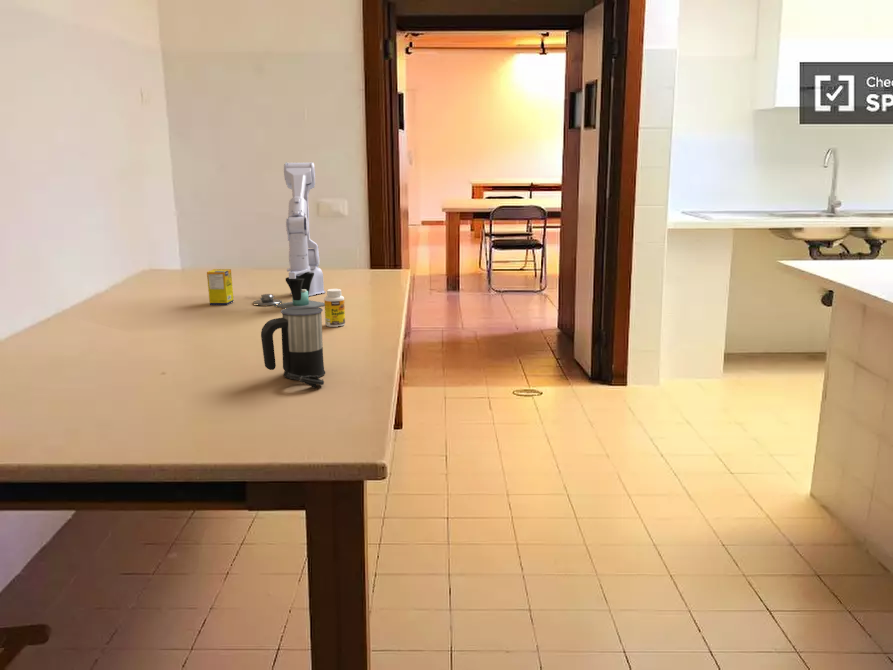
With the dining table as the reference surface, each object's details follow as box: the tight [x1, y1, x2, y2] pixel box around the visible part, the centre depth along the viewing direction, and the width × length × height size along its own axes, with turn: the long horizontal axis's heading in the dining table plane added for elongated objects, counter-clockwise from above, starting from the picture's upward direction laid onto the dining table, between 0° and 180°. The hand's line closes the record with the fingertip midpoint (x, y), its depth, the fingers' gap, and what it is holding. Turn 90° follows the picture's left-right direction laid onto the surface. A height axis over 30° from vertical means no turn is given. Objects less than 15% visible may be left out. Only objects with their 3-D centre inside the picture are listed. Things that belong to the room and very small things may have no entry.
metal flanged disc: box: [252, 293, 283, 305], centre depth 257 cm, size 9×9×3 cm
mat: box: [273, 299, 325, 309], centre depth 253 cm, size 12×12×1 cm
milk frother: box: [260, 306, 326, 389], centre depth 172 cm, size 14×16×15 cm
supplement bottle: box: [323, 288, 346, 328], centre depth 224 cm, size 6×6×10 cm
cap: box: [292, 289, 310, 306], centre depth 252 cm, size 5×5×5 cm
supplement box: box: [206, 268, 235, 306], centre depth 257 cm, size 6×6×11 cm
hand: (301, 297), depth 252 cm, fingers open, 7 cm apart
